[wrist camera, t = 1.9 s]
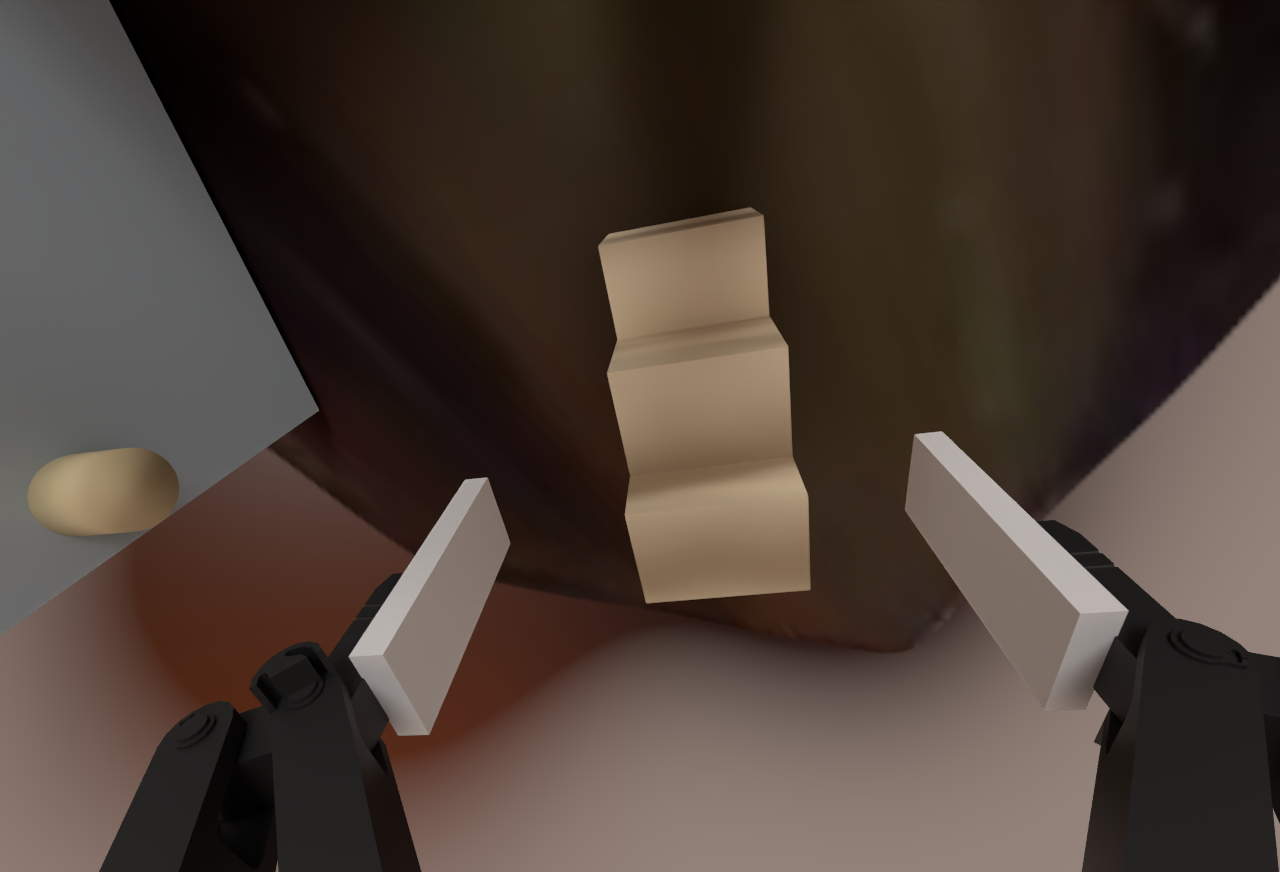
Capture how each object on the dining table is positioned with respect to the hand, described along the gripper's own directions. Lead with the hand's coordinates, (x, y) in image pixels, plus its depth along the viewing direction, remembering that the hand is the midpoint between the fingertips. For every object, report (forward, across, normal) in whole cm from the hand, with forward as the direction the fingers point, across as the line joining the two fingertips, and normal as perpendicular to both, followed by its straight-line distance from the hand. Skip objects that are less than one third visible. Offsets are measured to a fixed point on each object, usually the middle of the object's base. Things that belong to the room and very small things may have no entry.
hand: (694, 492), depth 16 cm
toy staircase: (+6, +1, +2) cm, 7 cm away
